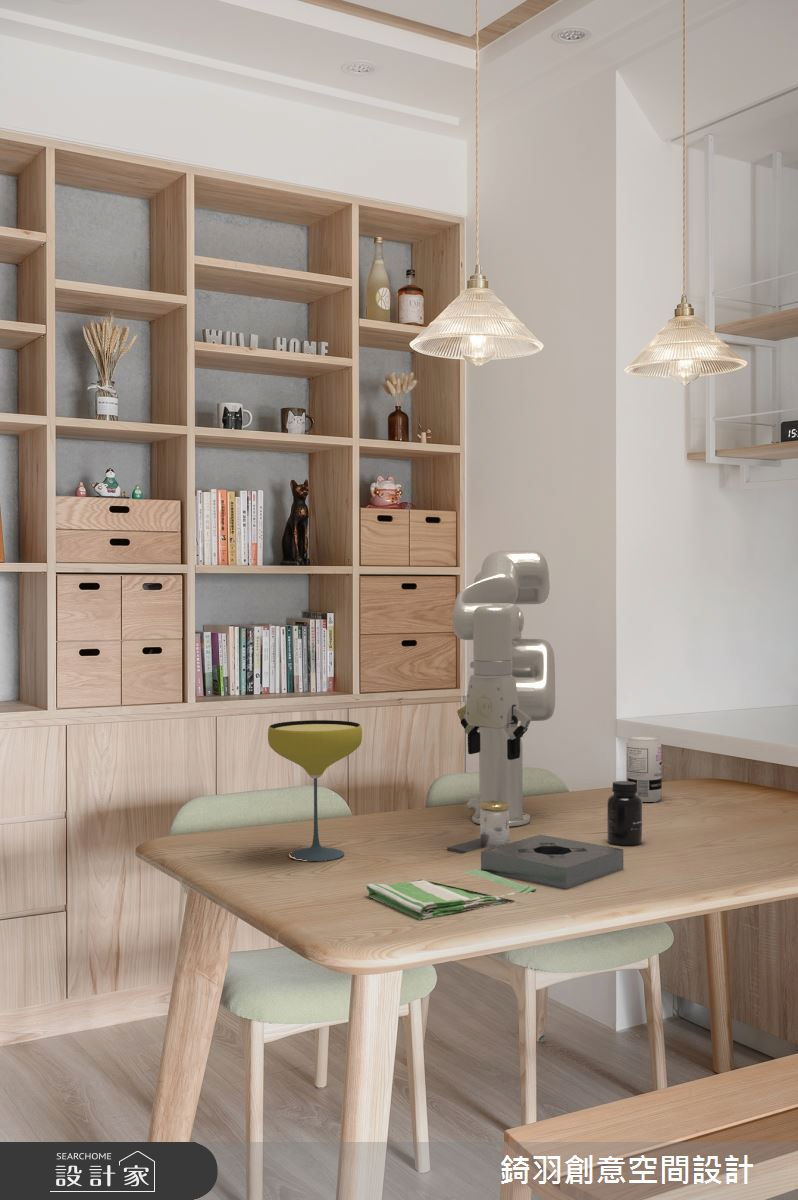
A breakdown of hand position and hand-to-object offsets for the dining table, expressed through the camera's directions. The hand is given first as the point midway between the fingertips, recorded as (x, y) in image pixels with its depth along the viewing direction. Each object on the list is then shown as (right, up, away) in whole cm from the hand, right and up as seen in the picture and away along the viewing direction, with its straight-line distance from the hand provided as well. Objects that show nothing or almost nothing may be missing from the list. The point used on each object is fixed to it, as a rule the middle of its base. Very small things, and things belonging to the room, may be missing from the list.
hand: (493, 755), depth 219 cm
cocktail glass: (-35, -19, -4) cm, 39 cm away
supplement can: (+40, -18, +49) cm, 66 cm away
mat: (0, -18, -1) cm, 18 cm away
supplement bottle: (+27, -18, +5) cm, 33 cm away
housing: (+9, -18, -21) cm, 29 cm away
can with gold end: (0, -18, -1) cm, 18 cm away
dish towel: (-10, -19, -34) cm, 40 cm away
